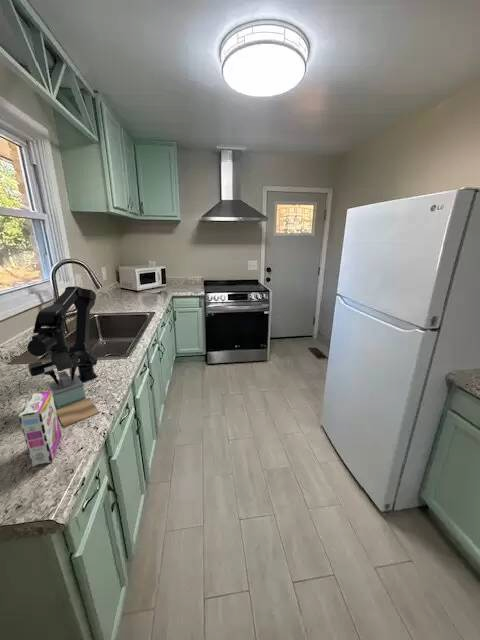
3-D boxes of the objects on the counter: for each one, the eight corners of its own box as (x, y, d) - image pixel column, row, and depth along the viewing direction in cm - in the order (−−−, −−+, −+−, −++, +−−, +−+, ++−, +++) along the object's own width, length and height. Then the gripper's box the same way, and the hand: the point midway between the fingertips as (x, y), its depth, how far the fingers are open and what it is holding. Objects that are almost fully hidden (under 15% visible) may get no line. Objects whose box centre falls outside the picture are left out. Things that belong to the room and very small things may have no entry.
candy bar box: (53, 462, 74) (40, 412, 69) (32, 467, 72) (16, 416, 67) (63, 435, 84) (52, 389, 79) (44, 439, 82) (31, 393, 77)
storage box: (52, 397, 103) (49, 384, 102) (78, 388, 109) (75, 376, 108) (58, 408, 97) (54, 395, 95) (85, 398, 103) (83, 385, 101)
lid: (49, 387, 102) (45, 374, 100) (76, 378, 108) (74, 366, 107) (55, 398, 95) (51, 385, 93) (84, 388, 101) (81, 375, 100)
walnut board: (55, 411, 95) (55, 410, 95) (89, 398, 103) (89, 397, 102) (63, 427, 87) (63, 426, 87) (99, 412, 94) (99, 411, 94)
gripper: (28, 359, 84) (39, 401, 89) (92, 343, 97) (98, 381, 102) (23, 349, 92) (33, 388, 97) (83, 335, 104) (89, 371, 109)
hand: (65, 382), depth 101 cm, fingers open, 4 cm apart
